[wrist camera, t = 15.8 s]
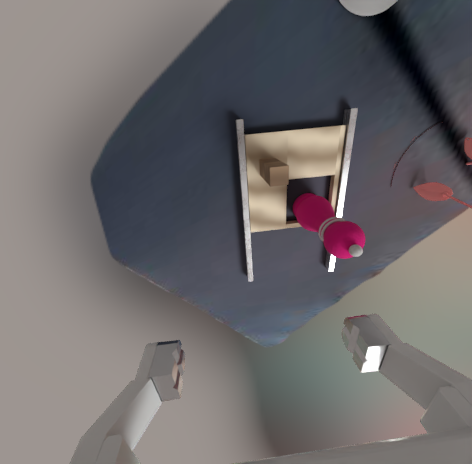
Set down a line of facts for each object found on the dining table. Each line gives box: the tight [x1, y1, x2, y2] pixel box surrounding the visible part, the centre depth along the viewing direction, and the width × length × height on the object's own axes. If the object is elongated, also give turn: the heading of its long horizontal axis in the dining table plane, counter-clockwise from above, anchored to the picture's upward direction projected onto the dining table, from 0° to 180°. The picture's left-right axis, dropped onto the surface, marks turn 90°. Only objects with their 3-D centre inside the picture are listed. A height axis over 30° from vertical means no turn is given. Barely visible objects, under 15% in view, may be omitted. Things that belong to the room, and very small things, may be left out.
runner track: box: [235, 108, 358, 282], centre depth 47 cm, size 36×22×2 cm, turn 5°
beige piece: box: [244, 125, 346, 232], centre depth 41 cm, size 20×19×10 cm
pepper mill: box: [293, 193, 365, 258], centre depth 39 cm, size 7×7×20 cm
